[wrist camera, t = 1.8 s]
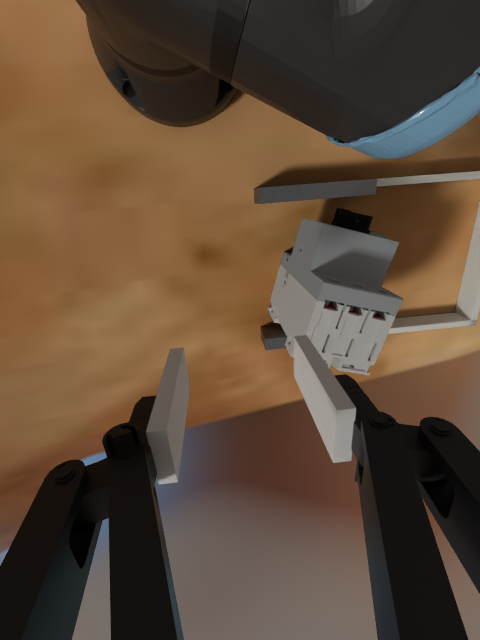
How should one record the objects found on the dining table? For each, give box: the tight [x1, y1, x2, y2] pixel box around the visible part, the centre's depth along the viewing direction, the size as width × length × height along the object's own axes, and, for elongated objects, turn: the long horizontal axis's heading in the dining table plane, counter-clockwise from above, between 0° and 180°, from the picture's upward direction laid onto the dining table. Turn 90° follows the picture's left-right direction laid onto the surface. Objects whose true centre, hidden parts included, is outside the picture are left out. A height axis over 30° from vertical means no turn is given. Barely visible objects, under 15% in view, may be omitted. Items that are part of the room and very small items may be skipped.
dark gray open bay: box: [254, 179, 377, 350], centre depth 37 cm, size 20×13×4 cm, turn 4°
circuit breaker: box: [268, 208, 403, 375], centre depth 32 cm, size 8×14×15 cm, turn 167°
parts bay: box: [377, 171, 480, 334], centre depth 38 cm, size 20×17×3 cm
